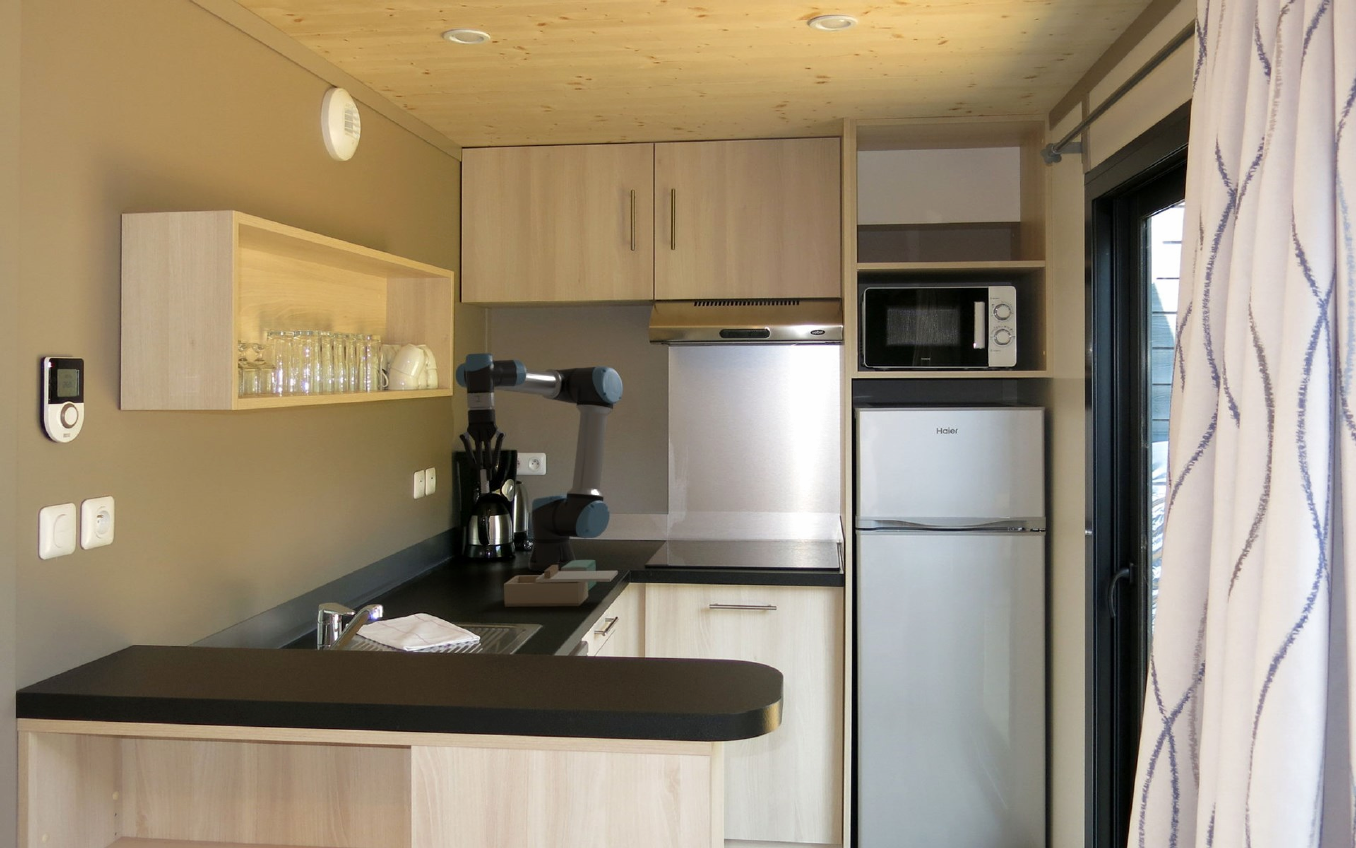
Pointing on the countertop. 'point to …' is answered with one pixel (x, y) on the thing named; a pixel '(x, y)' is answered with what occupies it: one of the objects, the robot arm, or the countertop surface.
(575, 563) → the box
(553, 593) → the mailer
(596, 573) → the lid
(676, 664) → the countertop surface
